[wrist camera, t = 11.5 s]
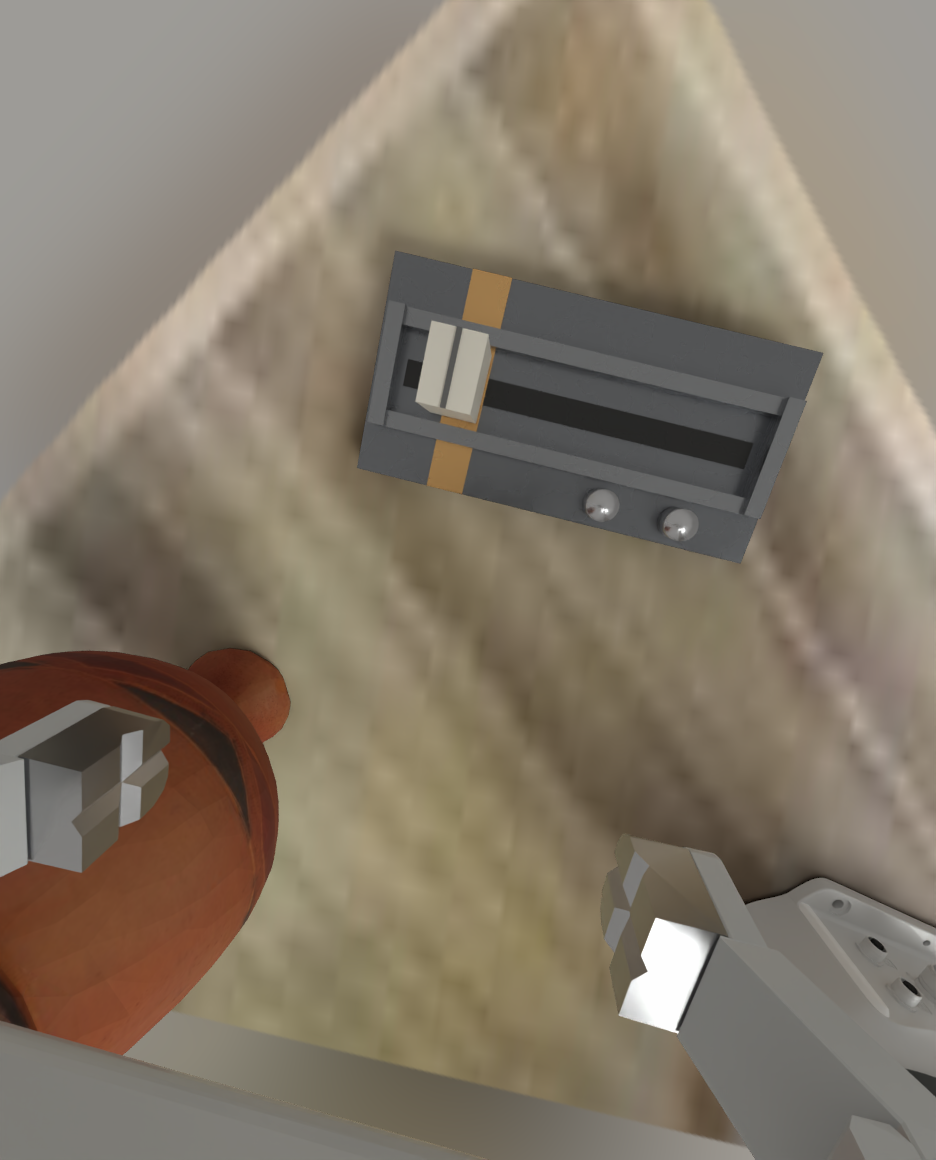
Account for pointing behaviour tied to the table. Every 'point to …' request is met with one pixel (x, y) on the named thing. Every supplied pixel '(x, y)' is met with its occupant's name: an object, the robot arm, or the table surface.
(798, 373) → the console
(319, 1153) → the robot arm
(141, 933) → the terracotta clay pot
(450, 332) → the fader cap
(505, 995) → the table surface
